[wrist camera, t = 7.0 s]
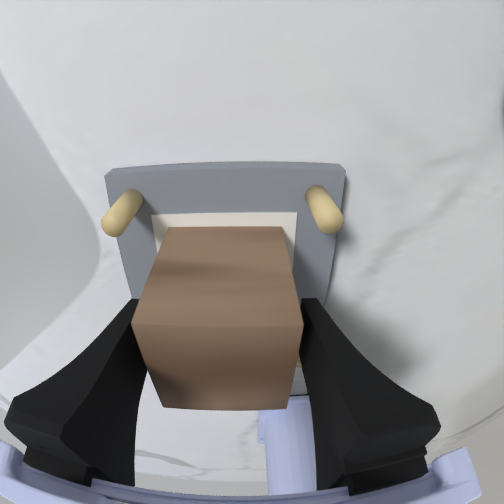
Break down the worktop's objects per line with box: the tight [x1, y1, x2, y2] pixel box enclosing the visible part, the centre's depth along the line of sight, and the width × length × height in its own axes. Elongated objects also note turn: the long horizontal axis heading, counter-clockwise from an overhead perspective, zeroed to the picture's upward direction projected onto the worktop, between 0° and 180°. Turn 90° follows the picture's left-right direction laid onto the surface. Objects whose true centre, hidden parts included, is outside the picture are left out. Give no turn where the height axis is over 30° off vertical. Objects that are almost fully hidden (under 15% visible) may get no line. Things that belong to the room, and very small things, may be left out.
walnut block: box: [131, 226, 304, 411], centre depth 12 cm, size 5×5×6 cm
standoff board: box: [101, 162, 346, 368], centre depth 14 cm, size 10×10×4 cm
